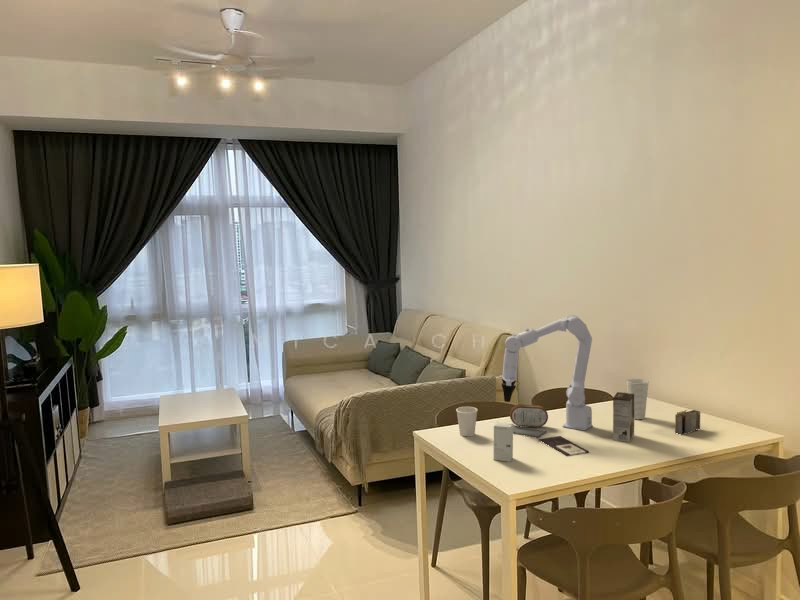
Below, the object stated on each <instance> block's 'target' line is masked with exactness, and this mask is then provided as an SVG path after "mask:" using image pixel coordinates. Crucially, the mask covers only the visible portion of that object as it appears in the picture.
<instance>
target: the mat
mask: <svg viewBox="0 0 800 600" xmlns="http://www.w3.org/2000/svg"><path fill="white" fill-rule="evenodd" d="M513 433H514V434H515V435H520V436H524V435H525V437H529V436H530V437H531V438H535V437H536V439H538V438H540V437H542V436H543V435H545V434H546V433H547V430H544V429H537V428H534V427H532V428H531V427H528V426H517V425H515V424H513ZM544 433H545V434H544ZM514 434H513V435H514ZM541 435H542V436H541Z"/></svg>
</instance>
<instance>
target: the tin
mask: <svg viewBox="0 0 800 600" xmlns="http://www.w3.org/2000/svg"><path fill="white" fill-rule="evenodd" d="M509 419H510V420H511V422H512V424H513V425H516V426H521V427H528V428H531V427H532V428H540V427H544V426H545V425H546V424H547V422H548V420H549V414H548V411H547V410H546V409H545V407H543V406H542V405H537V404H536V405H535V404H534V405H533V404H516V405H513V407H512V408H511V409H510V410H509Z"/></svg>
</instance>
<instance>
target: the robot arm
mask: <svg viewBox="0 0 800 600" xmlns="http://www.w3.org/2000/svg"><path fill="white" fill-rule="evenodd" d="M558 331H559V332H567V331H568V332H569V333H571V334H572V335H574V336H575V338H576V339H577V340H578V343H577V349H576V353H575V360H574V365H573V372H572V376H571V377H572V378H571V380H570V383H569V386H568V387H567V388H566V391H565V395H566V397H567V401H566V402H565V403H566V404H565V407H566V409H565V413H566V417H565V418H566V419H565V423H564V424H562V427H563V428H568V429H574V430H581V431H587V430H589V428H591V427H592V426H593V422H592V421H593V416H592V415H593V411H592V409H593V408H592V407H591V406H589V405H587V404H586V396H585V389H586V388H585V383H586V382H585V381H586V376H587V370H588V363H589V359H590V352H591V348H592V342H593V337H592V336H591V333H590V331H589V329H588V326H587V324H586V323H585V322H584V321H583V320H582V319H581V318H580V317H579V316H577V315H575V314H573V315H572V314H571V315H569V316H565V317H562V318H560V319H557V320H555V321H552V322H550V323H548V324H545V325H544V326H543V325H542V327H539V328H537V329H534V328H525V329H524V331H522V332H520V333H514V335H510V336H508V337H507V338H506V339H505V341H504V346H505V349H504V354H503V363H502V364H503V365H502V374H501V375H499V377H498V378H499V379H501V380H502V383H501V388H502V391H503V392H502V393H503V400H504V402H507V403H510V402H511V399H512V395H513V393H514V390H515V389H516V388H517V386H516V385H515V384H516V382H517V379H518V366H519V357H520V356H519V350H520V349H521V348H525V347H528V346H530V345H532V344H535V343H537V342H538V341H539V339H540V337H543V336H547V335H550V334H552V333H555V332H558Z"/></svg>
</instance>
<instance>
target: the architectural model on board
mask: <svg viewBox="0 0 800 600" xmlns="http://www.w3.org/2000/svg"><path fill="white" fill-rule="evenodd" d="M674 421H675V425H674V427H675V431H674V433H675V434H676V433H678V434H677V435H679V434H682V435H683V432H684V433H687V434H689V433H688V432H690V433H692V432H691V431H694V432H696V431H695V430H696V429H700V430H701V411H700V410H696V409H693V410H689V411H688V410H683V411H678V412H676V414H675V420H674ZM682 431H683V432H682Z"/></svg>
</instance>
